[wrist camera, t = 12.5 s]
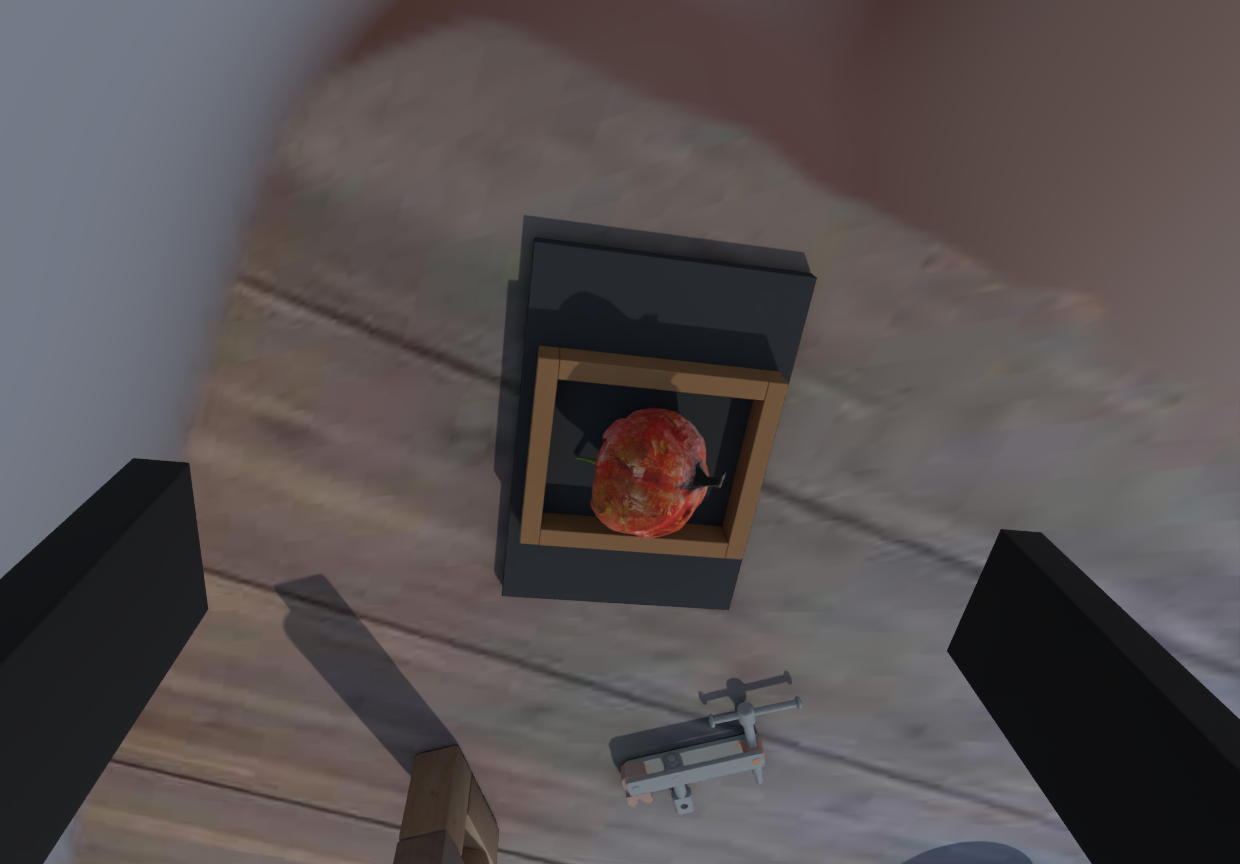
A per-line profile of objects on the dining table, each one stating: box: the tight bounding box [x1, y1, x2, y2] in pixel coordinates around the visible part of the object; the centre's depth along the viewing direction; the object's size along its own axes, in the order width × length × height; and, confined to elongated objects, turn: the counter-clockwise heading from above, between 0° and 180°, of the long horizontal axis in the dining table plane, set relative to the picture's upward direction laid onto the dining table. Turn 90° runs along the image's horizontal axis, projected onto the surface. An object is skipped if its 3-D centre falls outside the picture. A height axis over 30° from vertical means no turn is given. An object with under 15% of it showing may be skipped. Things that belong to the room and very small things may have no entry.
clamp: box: [621, 696, 802, 814], centre depth 58 cm, size 15×2×10 cm
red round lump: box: [575, 408, 726, 538], centre depth 42 cm, size 7×7×10 cm
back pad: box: [502, 238, 817, 610], centre depth 44 cm, size 24×16×3 cm, turn 172°
